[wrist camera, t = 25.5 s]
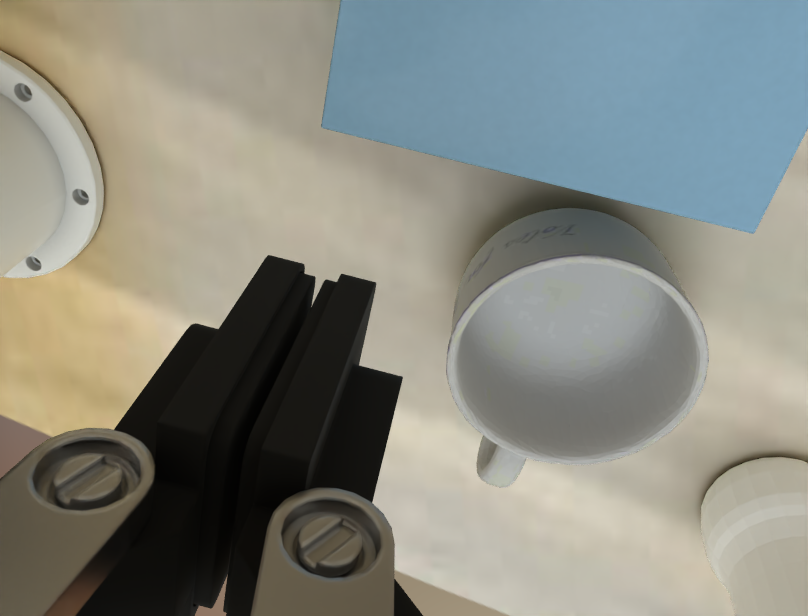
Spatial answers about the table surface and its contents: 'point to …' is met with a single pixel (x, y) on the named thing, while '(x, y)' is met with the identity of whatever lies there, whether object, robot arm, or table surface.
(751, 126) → the lid
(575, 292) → the teacup
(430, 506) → the table surface
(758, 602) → the bottle
